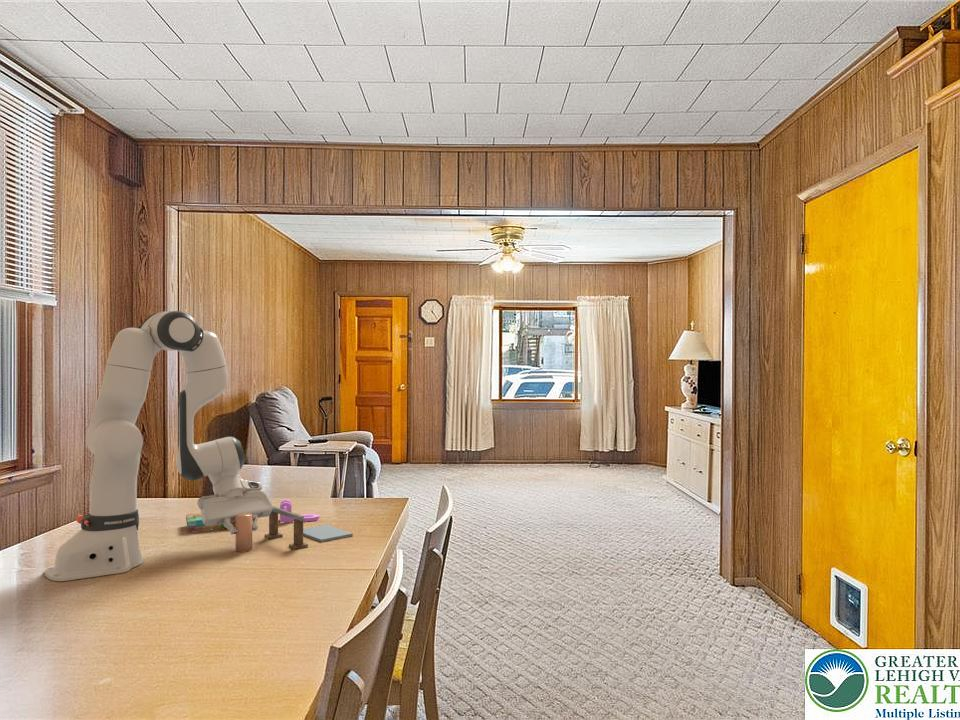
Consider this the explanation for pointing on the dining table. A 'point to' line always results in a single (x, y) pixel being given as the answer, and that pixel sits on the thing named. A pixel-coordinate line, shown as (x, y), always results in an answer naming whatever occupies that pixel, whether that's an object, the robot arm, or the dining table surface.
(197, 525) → the puzzle game
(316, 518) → the bracket
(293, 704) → the dining table surface
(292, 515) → the metal bar
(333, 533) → the pad
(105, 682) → the dining table surface
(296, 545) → the hurdle posts
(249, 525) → the terracotta cylinder
